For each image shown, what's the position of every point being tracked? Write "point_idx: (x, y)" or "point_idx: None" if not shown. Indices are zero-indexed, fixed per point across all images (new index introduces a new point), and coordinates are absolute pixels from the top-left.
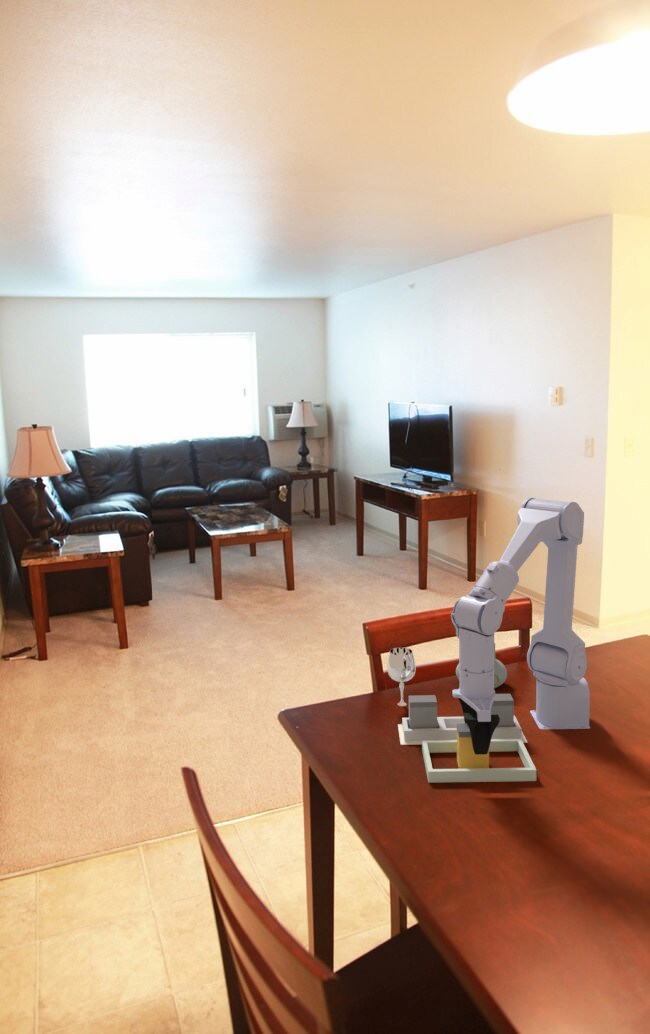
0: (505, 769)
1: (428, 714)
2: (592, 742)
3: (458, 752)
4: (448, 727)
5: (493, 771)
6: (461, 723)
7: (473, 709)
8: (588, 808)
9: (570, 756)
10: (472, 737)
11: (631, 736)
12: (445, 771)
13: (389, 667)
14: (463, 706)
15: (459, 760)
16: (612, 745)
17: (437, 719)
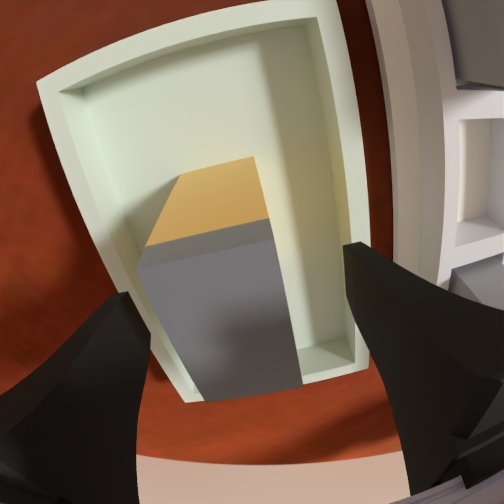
0: (155, 345)
1: (502, 41)
2: (383, 423)
3: (196, 190)
4: (493, 128)
5: None
6: (501, 179)
7: (397, 371)
8: (137, 423)
9: (332, 410)
10: (53, 357)
11: (392, 447)
12: (57, 149)
13: None
14: (418, 339)
15: (173, 189)
16: (368, 440)
17: None
